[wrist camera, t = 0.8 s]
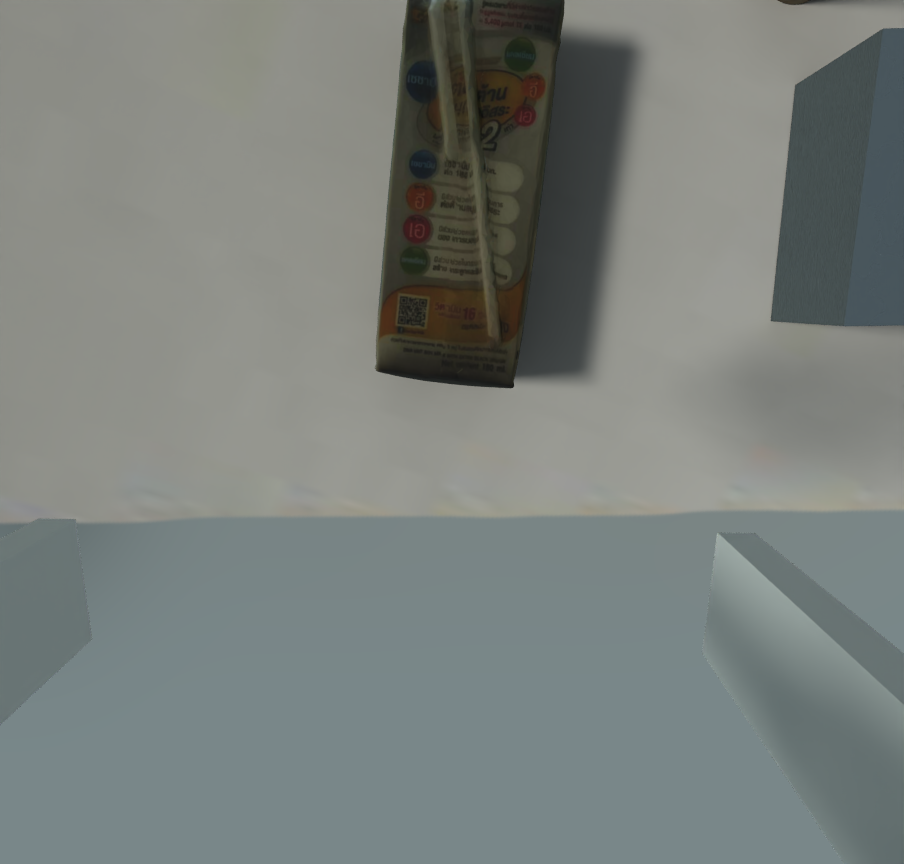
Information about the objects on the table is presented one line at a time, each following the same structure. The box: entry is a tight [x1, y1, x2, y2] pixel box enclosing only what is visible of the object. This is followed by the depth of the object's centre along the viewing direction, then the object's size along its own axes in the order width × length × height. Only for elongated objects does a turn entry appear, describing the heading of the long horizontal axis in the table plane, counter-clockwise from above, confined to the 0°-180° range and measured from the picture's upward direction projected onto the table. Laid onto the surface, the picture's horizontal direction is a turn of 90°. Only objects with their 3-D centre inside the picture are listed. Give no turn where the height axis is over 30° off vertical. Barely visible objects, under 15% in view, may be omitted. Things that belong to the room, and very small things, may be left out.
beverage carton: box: [375, 0, 564, 388], centre depth 32 cm, size 8×19×7 cm, turn 174°
